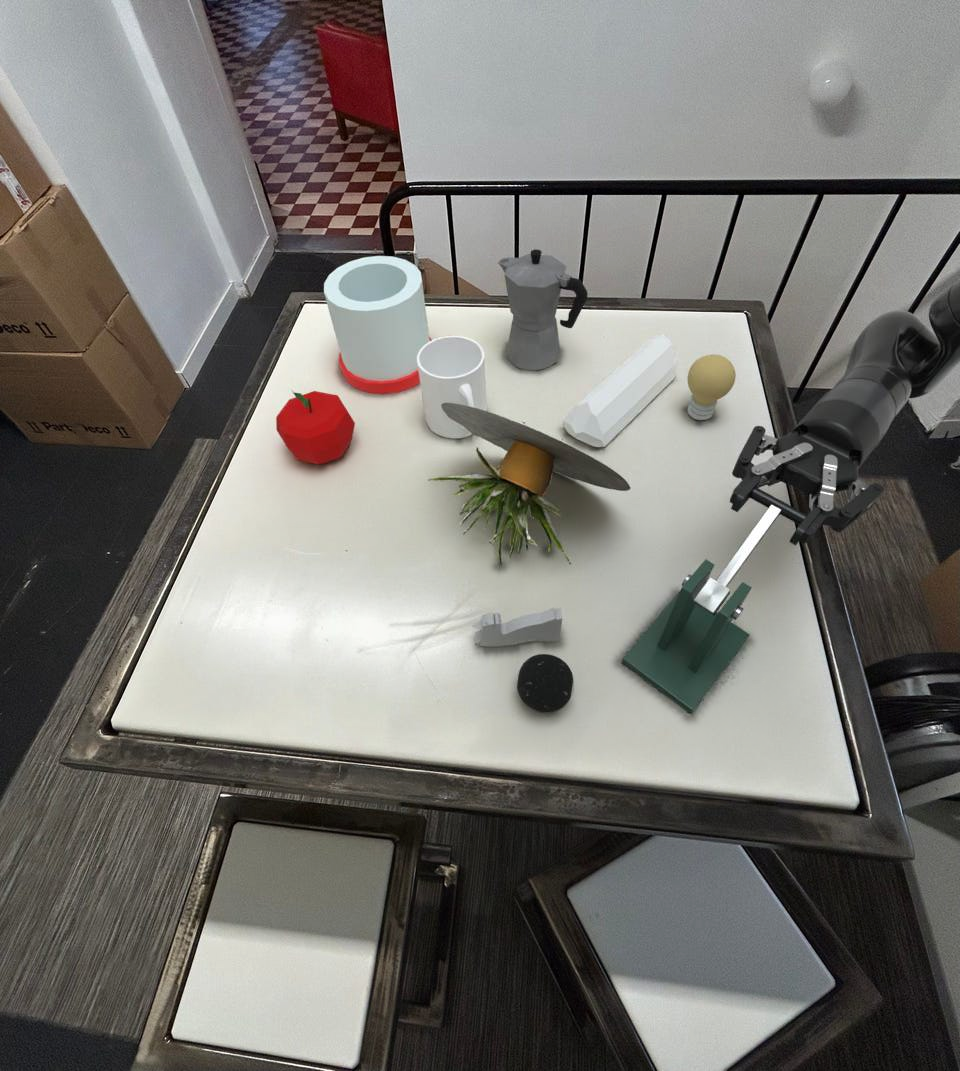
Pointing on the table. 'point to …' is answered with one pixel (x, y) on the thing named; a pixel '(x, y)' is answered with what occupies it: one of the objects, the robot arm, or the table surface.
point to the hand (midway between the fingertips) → (765, 521)
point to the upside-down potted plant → (522, 474)
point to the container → (378, 322)
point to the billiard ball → (545, 683)
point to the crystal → (623, 393)
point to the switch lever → (745, 550)
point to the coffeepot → (537, 308)
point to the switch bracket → (689, 643)
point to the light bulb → (709, 384)
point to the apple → (315, 427)
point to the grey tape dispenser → (519, 629)
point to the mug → (451, 381)
